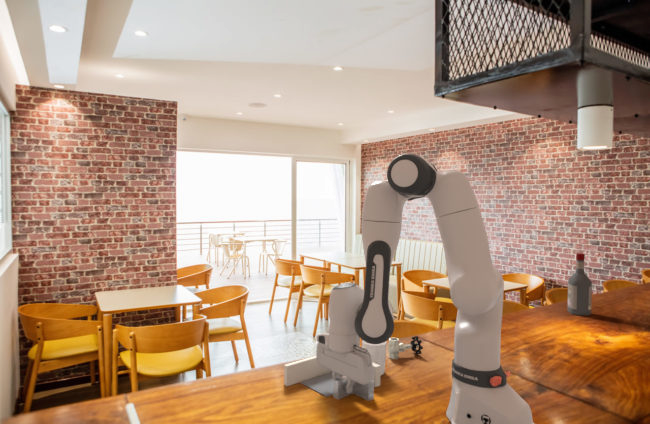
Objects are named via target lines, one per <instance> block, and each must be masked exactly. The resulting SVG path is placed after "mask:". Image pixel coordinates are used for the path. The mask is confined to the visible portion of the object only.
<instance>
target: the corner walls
mask: <svg viewBox="0 0 650 424" xmlns="http://www.w3.org/2000/svg"><path fill="white" fill-rule="evenodd" d="M372 364H373V381H374V388H377V387H380V386H381V376H382V375H381V365H378V364H375V363H373V362H372ZM330 372H332V371H331V370H329V369H327V368H325V367H322V366H320V365H319V364H318V362H317V359H316V355H314V356H310V357H307V358H304V359H300V360H296V361H293V362H289V363H286V364H283V385H284V386H285V387H290V386H293V385H295V384H298V383H299V384H300V383H301V382H303V381H306V380H309V379H312V378H315V377H318V376H321V375H324V374H327V373H330Z"/></svg>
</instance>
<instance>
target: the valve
mask: <svg viewBox="0 0 650 424" xmlns="http://www.w3.org/2000/svg"><path fill="white" fill-rule="evenodd" d="M399 341H400V338H398V337H390V338H389V339H388V345H387V351H388V359H391V360H399V355H400V354H399V353H401V352H402V353H403V352H405V351H406V350H410V349H411V351H412V352H413V353H414V355H422V351H421V350H423V349H424V347H423V345H421V344H422V342H423V341H422V340H421V339H419V335H415V336H412V337H411V341H410V343H406V344H404V343H403V342H399Z"/></svg>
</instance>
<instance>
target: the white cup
mask: <svg viewBox="0 0 650 424" xmlns="http://www.w3.org/2000/svg"><path fill="white" fill-rule="evenodd" d="M387 342H388V341H385V342H383V343H381V344H370V343H367V342H365V341H363V340H362V339H361V347H362V348H365V349H367V350H368V352H369V353H370V354H371V359H372V362H373V363H375V364H378V365H381V376H383V375H384V374H385V370H386V369H385V368H386V366H385V365H386V358H387V346H388V345H387V344H388V343H387Z"/></svg>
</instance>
